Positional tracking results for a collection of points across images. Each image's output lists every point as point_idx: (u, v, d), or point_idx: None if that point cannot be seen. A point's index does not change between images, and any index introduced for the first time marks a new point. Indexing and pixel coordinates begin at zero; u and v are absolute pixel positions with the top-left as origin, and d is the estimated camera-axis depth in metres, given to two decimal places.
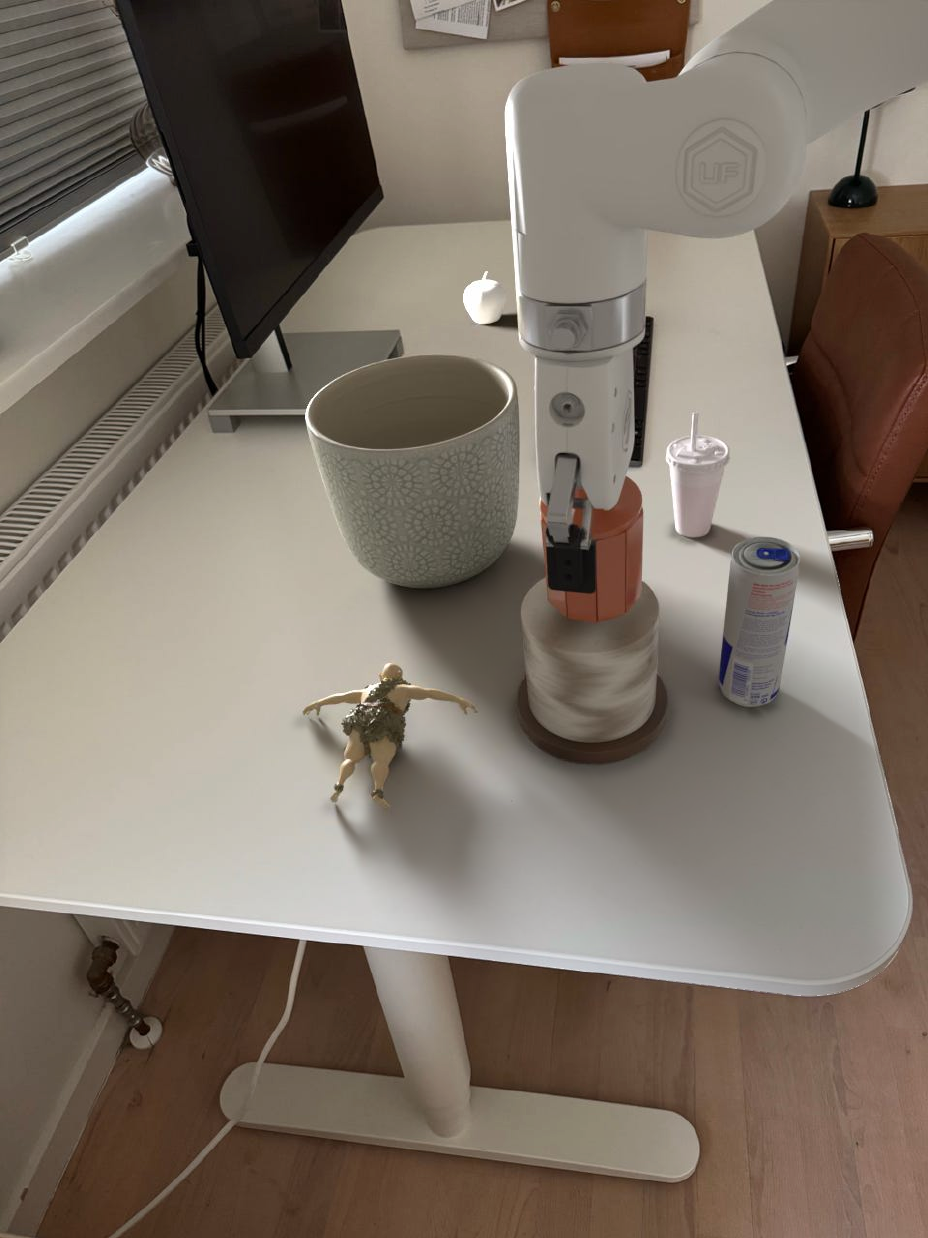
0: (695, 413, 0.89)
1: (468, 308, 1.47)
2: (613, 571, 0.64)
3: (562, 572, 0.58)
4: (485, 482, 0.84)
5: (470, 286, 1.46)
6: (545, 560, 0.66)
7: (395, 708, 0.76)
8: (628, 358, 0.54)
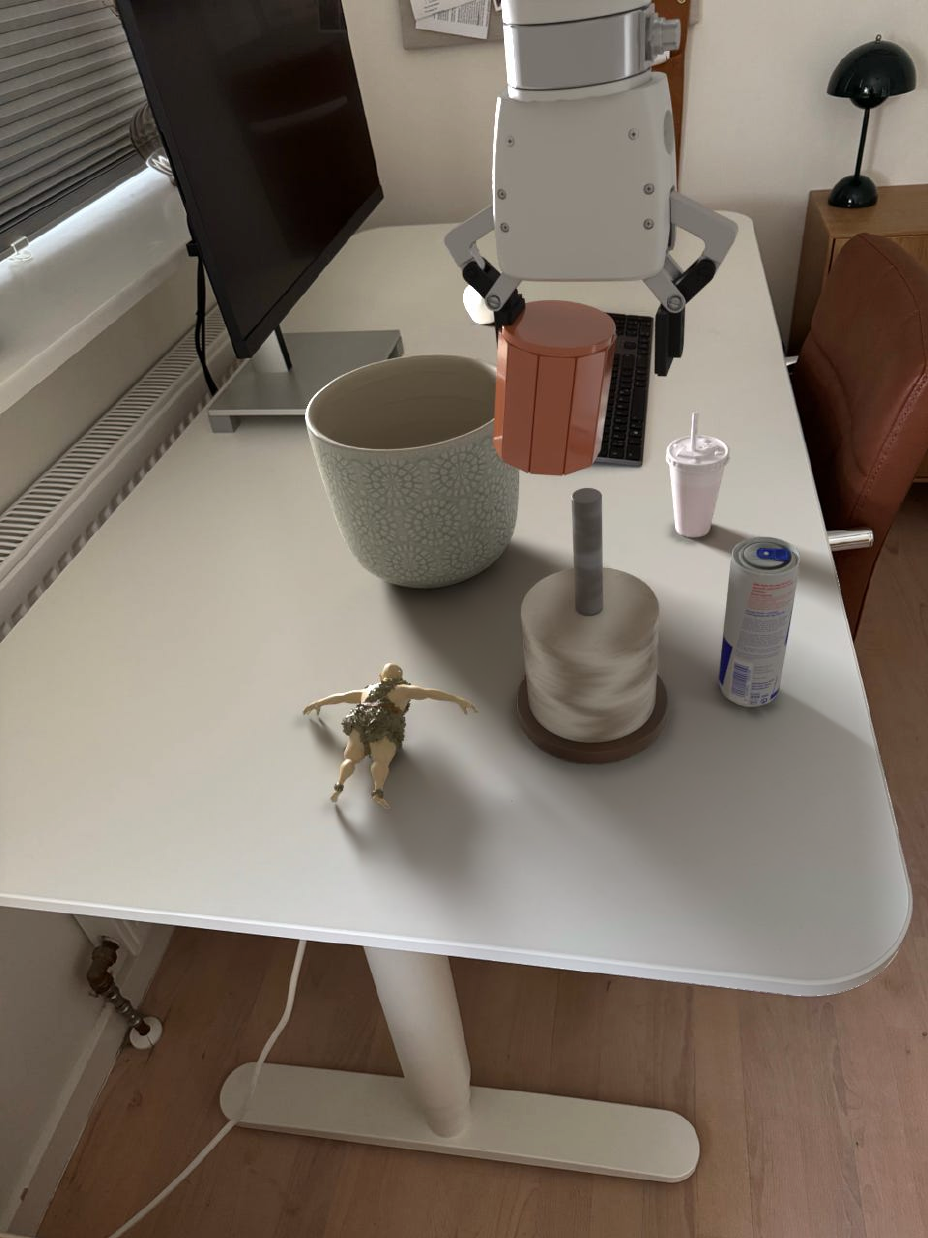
0: (695, 413, 0.89)
1: (468, 308, 1.47)
2: None
3: (681, 337, 0.54)
4: (485, 482, 0.84)
5: (470, 286, 1.46)
6: (571, 414, 0.56)
7: (395, 708, 0.76)
8: None
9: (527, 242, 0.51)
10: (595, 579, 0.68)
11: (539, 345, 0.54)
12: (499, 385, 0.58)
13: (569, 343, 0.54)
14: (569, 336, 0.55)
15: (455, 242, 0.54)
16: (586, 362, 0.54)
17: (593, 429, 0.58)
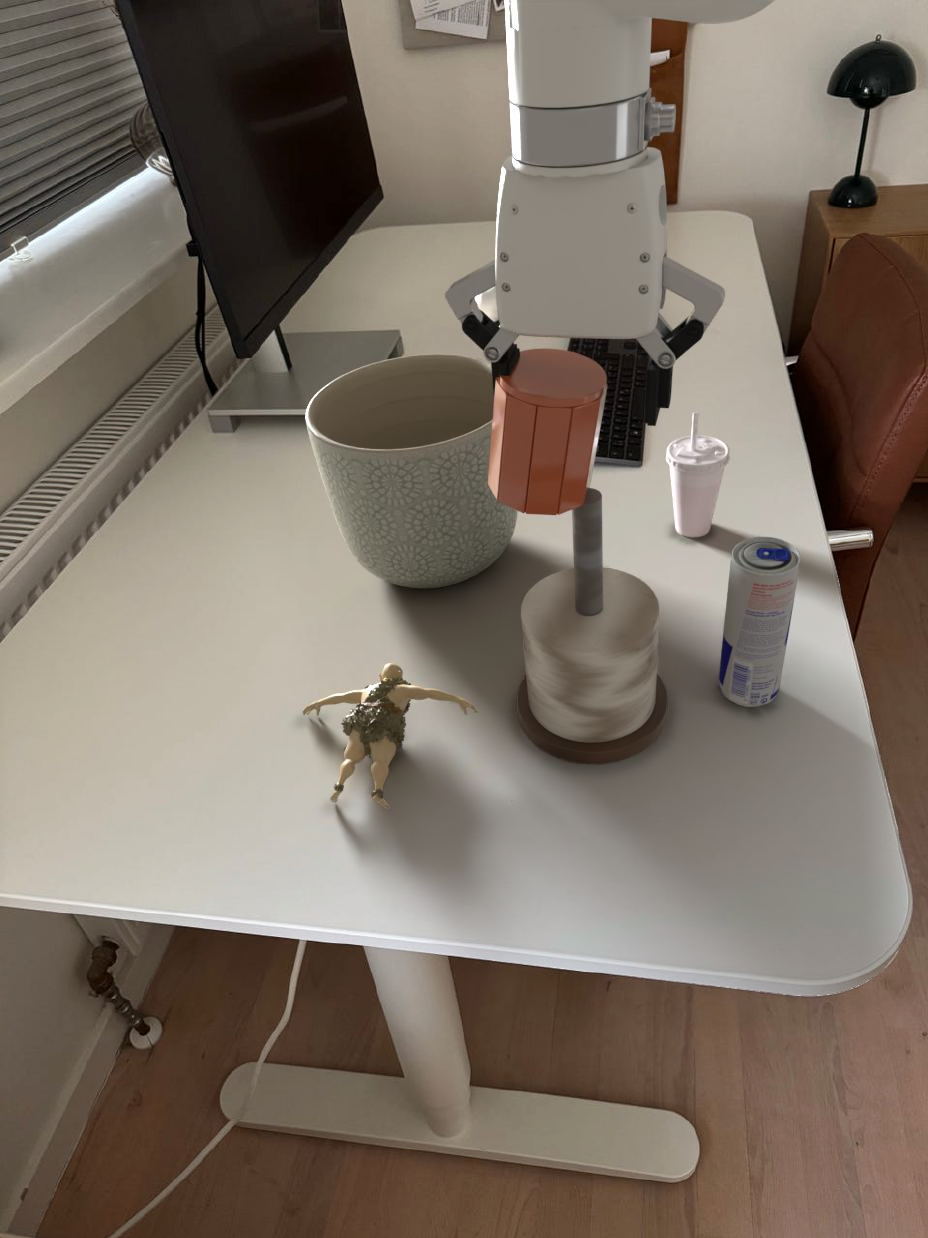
0: (695, 413, 0.89)
1: None
2: None
3: (669, 390, 0.57)
4: (485, 482, 0.84)
5: None
6: (566, 459, 0.60)
7: (395, 708, 0.76)
8: None
9: (527, 301, 0.54)
10: (595, 579, 0.68)
11: (537, 396, 0.57)
12: (496, 430, 0.61)
13: (565, 394, 0.57)
14: (564, 387, 0.58)
15: (455, 297, 0.57)
16: (581, 411, 0.58)
17: (585, 471, 0.61)
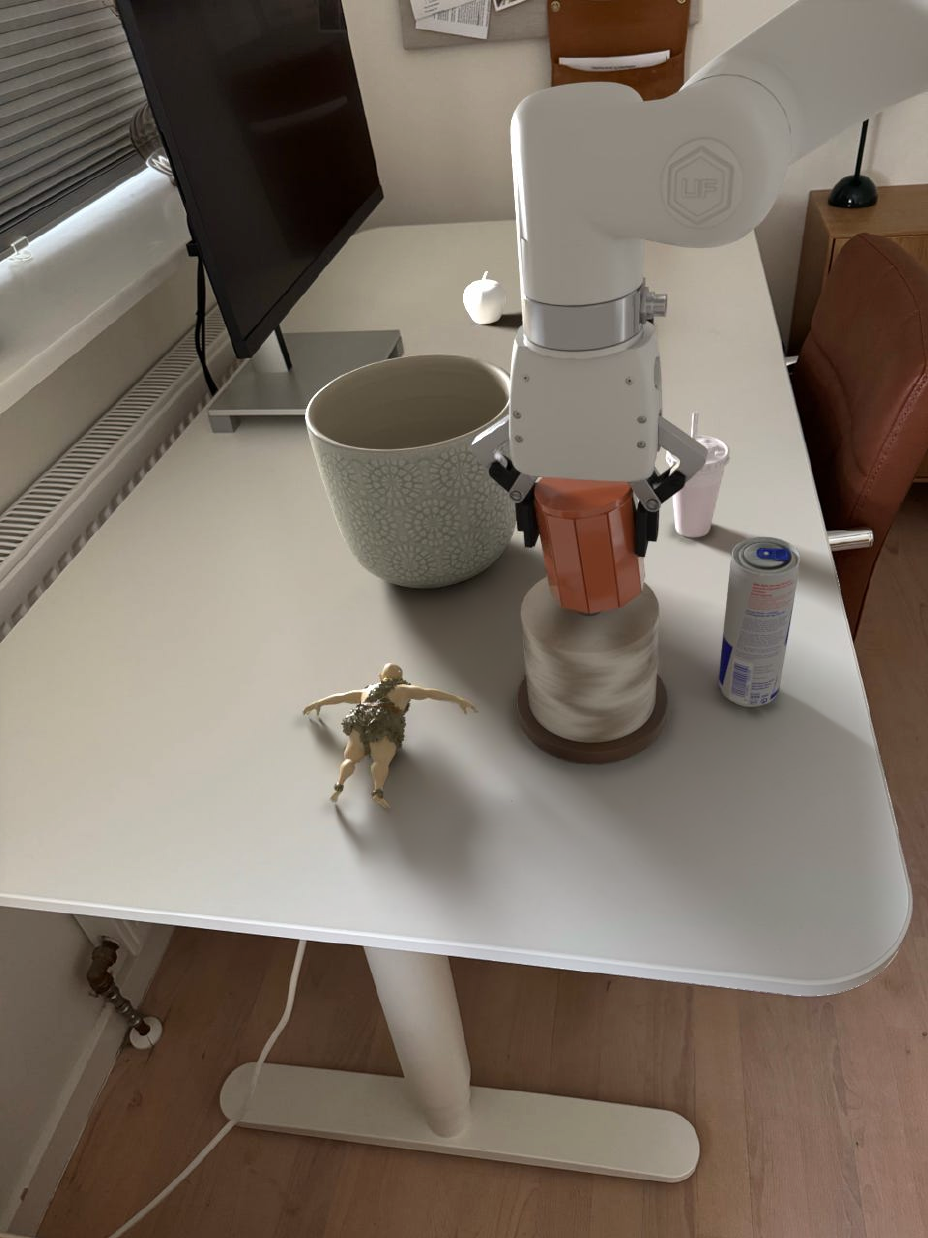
0: (695, 413, 0.89)
1: (468, 308, 1.47)
2: None
3: (657, 527, 0.64)
4: (485, 482, 0.84)
5: (470, 286, 1.46)
6: (614, 557, 0.64)
7: (395, 708, 0.76)
8: None
9: (538, 451, 0.61)
10: None
11: (573, 511, 0.62)
12: (545, 546, 0.66)
13: (598, 502, 0.62)
14: (596, 496, 0.63)
15: (479, 450, 0.64)
16: (616, 514, 0.62)
17: (635, 563, 0.66)
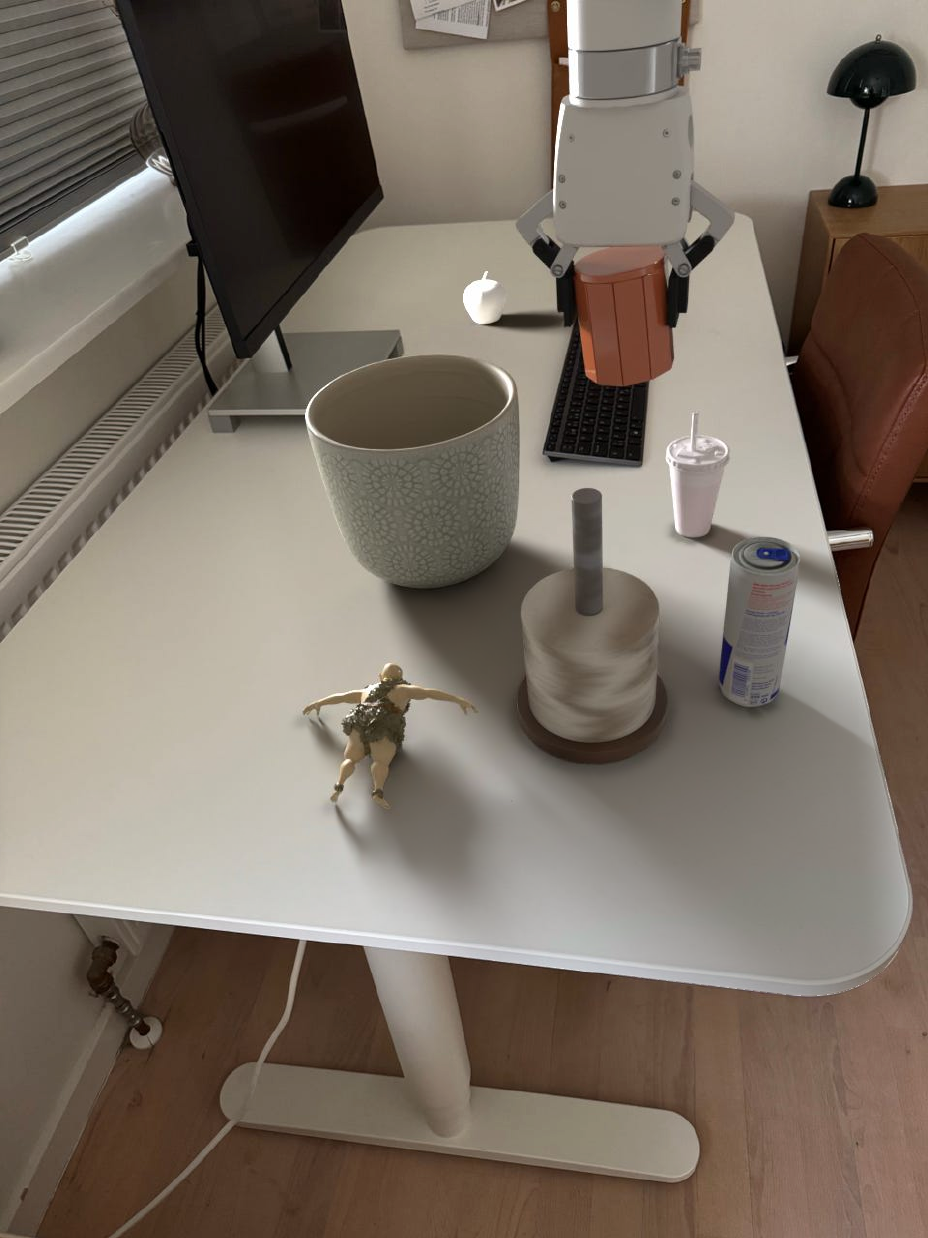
0: (695, 413, 0.89)
1: (468, 308, 1.47)
2: None
3: (687, 297, 0.70)
4: (485, 482, 0.84)
5: (470, 286, 1.46)
6: (647, 325, 0.70)
7: (395, 708, 0.76)
8: None
9: (580, 216, 0.67)
10: (595, 579, 0.68)
11: (611, 275, 0.68)
12: (583, 322, 0.72)
13: (634, 267, 0.68)
14: (631, 264, 0.69)
15: (524, 225, 0.70)
16: (650, 279, 0.68)
17: (666, 336, 0.72)
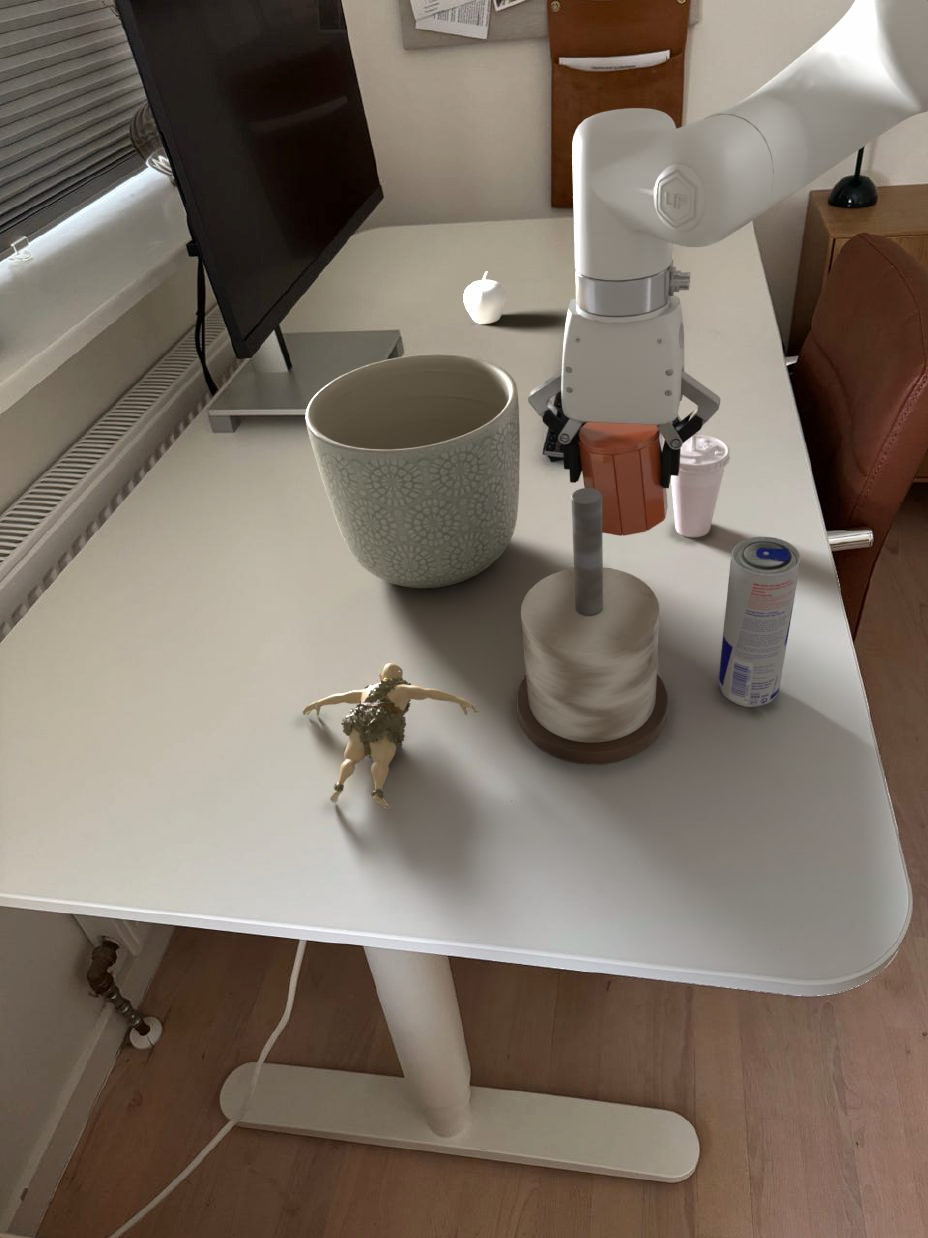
0: None
1: (468, 308, 1.47)
2: None
3: (678, 463, 0.79)
4: (485, 482, 0.84)
5: (470, 286, 1.46)
6: (644, 487, 0.79)
7: (395, 708, 0.76)
8: None
9: (585, 399, 0.76)
10: (595, 579, 0.68)
11: (612, 448, 0.77)
12: (587, 480, 0.82)
13: (632, 441, 0.77)
14: (630, 437, 0.78)
15: (535, 400, 0.79)
16: (646, 451, 0.78)
17: (660, 494, 0.81)
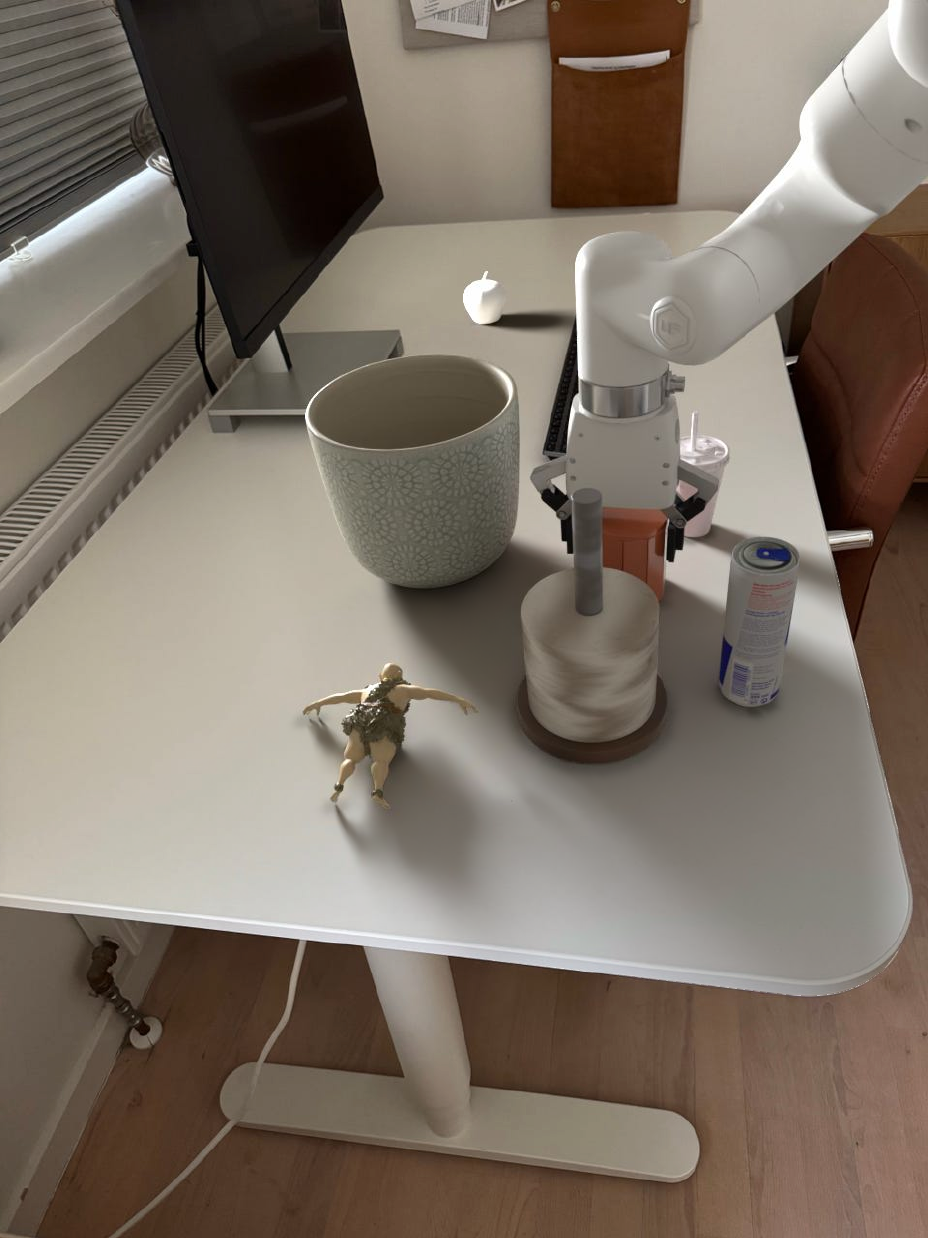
0: (695, 413, 0.89)
1: (468, 308, 1.47)
2: None
3: (683, 539, 0.84)
4: (485, 482, 0.84)
5: (470, 286, 1.46)
6: (647, 572, 0.85)
7: (395, 708, 0.76)
8: None
9: (587, 487, 0.81)
10: (595, 579, 0.68)
11: (622, 536, 0.83)
12: None
13: (641, 531, 0.83)
14: (639, 525, 0.84)
15: (537, 479, 0.84)
16: (653, 540, 0.83)
17: (661, 577, 0.87)
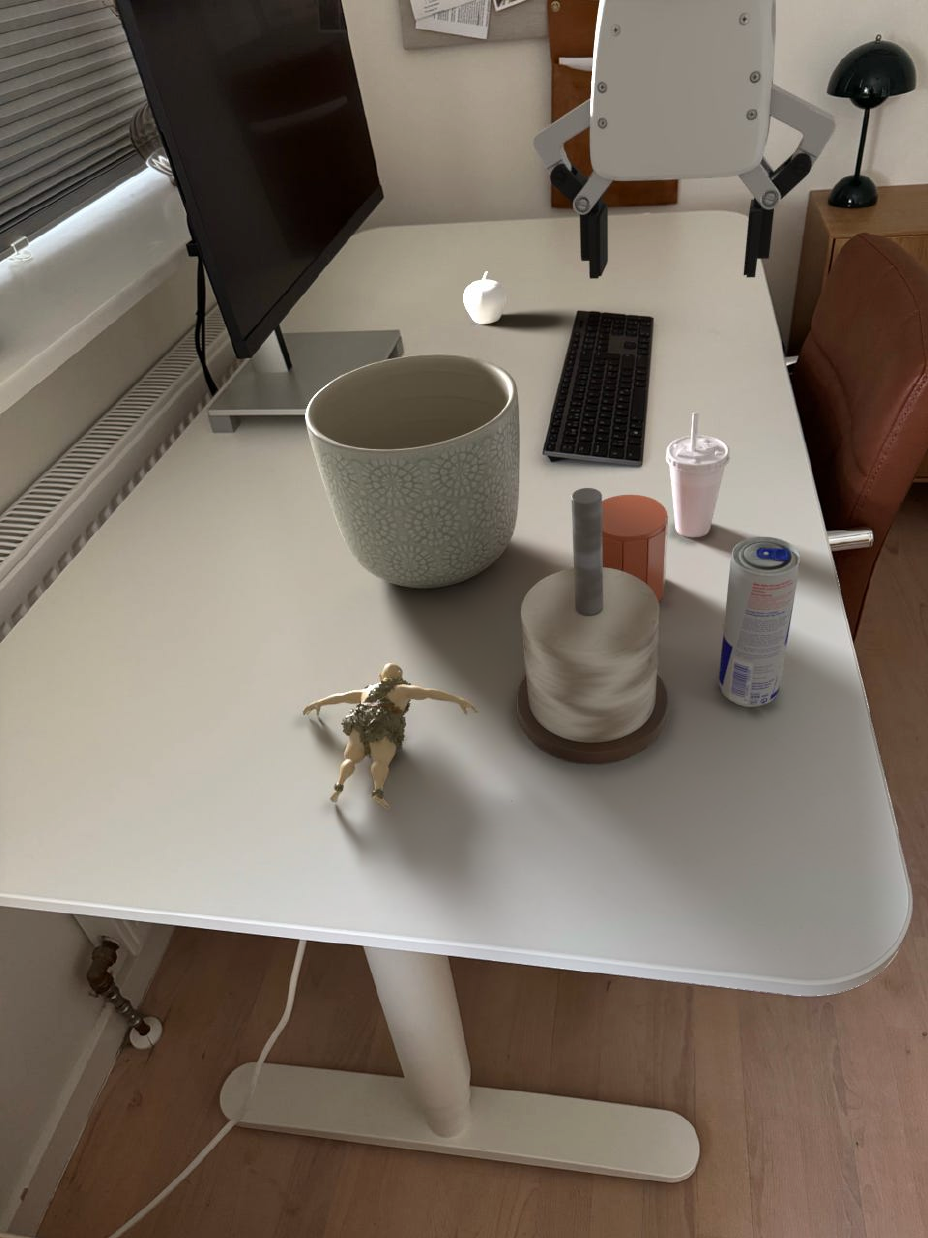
0: (695, 413, 0.89)
1: (468, 308, 1.47)
2: None
3: None
4: (485, 482, 0.84)
5: (470, 286, 1.46)
6: (647, 572, 0.85)
7: (395, 708, 0.76)
8: None
9: (625, 137, 0.52)
10: (595, 579, 0.68)
11: (622, 536, 0.83)
12: None
13: (641, 531, 0.83)
14: (639, 525, 0.84)
15: (544, 143, 0.54)
16: (653, 540, 0.83)
17: (661, 577, 0.87)
